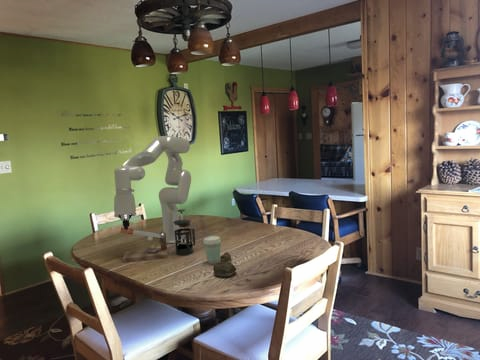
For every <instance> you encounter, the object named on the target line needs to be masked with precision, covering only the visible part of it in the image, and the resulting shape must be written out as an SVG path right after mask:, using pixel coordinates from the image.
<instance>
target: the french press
mask: <svg viewBox="0 0 480 360" xmlns="http://www.w3.org/2000/svg"><path fill="white" fill-rule="evenodd" d="M178 212H180V214H181V218H182V219H179V220H177V221H174V222H173V223H174V224H175V225H178V226H179V227H180V229H177V230H175V231H174V234H175V255H176V256H188V255H192V254H193V253H194V249H193V248H194V246H195V245H196V238H195V236H196V234H195V233H196V232H195V228H187V227H189V226H191V222H192V221H191V219H188V218H187V219H183V212H186V209H178ZM176 232H178V233H176ZM177 235H178V240H177ZM181 235H183V239H181ZM184 235H186V236H184Z"/></svg>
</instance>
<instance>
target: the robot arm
mask: <svg viewBox="0 0 480 360" xmlns="http://www.w3.org/2000/svg"><path fill="white" fill-rule="evenodd" d="M190 149H191V144H190V142H189V140H188V139H186V138H184V137H178V136H173V135H160V136H159V135H158V136H156V137H154V138H153V140H152V141H151V142H150V143H149V144H148V145H147V146H146V147H145V148H144V149H143V150H142V151H140V152H138V153H137V154H135V155H133V156H131V157H130V158H128V159H126V161H125V162H124V163H123V164H122V165H121V166H120V167H116V168H115V169H114V171H113V172H114V185H115V188H114V189H115V195H114V198H113V212H114V218H119V219H120V220H121V221H122V227H123V228H124V229H125V228H129V227H130V219H131V218H133V217H135V216H137V210H136V209H137V208H136V200H135V196H134V195H135V194H134V193H135V189H134V188H132V181H137V182H139V181H141V180H143V179H144V178H145V176H146V171H145V169H144V166H148V165H151V164H153V163H155V162H156V161H157V160H158V159H159V157H160V156H161V155H162V154H163V153H165V155H166V157H167V161H168V163H167V166H166V167H167V168H166V172H165V177H164V181H165V184H167V185H168V186H167V187H166V186H165V187H163V188H161V189H160V190H159V192H158V200H159V203H160V208H161V217H162V229H163V231H162V232H163V233H165V232H166V244H173V243H175V234H174V231H175V230H177V229H181V227H179V226H178V225H175V224H174V223H173V222H174V221H177V220H180V216H179V215H180V214H179V212H178V210H179V208H178V206H177V205H184V204H185V203H186V202H187V201H188V198H189V193H190V187H191V183H192V175H191V172H190V171H188V169H183V165H184V164H183V158H182V157H181V155H180V154H186V153H188V152H189V151H190ZM125 216H126V218H125ZM176 233H178V232H176ZM184 237H186V235H184ZM181 239H183V235H181ZM177 240H178V235H177Z"/></svg>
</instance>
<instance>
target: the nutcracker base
mask: <svg viewBox="0 0 480 360" xmlns="http://www.w3.org/2000/svg"><path fill="white" fill-rule="evenodd" d="M162 233H164V232H159V234H162ZM164 234H165V238H164V239H161V238H159V242H160V247H158V248H157V247H156V246H155V244H153V243H151V244H149V245H148V247H147V248H146V249H137V250H129V251H125V252H124V255H123V257H122V263H134V262H143V261H152V260H161V259H168V258H169V247H168V245H167V244H168V243H166V232H165V233H164Z"/></svg>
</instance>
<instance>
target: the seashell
mask: <svg viewBox="0 0 480 360" xmlns="http://www.w3.org/2000/svg"><path fill="white" fill-rule="evenodd" d="M212 268H213V269H212V270H213V274H214V275H215V276H217V277H219V278H227V277H231V276H233V275H234V274H235V272H236V271H237V268H236V266H235V265H234V264H233V261H232V256H231V253H229V252H228V251H226V252H225V253H223V254H222V255H220V262H219V263H215V264H213V267H212Z"/></svg>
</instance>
